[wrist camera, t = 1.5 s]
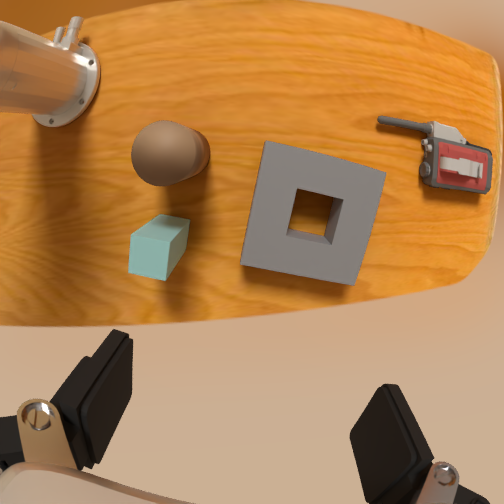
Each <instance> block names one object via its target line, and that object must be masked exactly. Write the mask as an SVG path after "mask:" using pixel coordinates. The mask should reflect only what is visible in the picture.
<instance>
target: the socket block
mask: <svg viewBox="0 0 504 504" xmlns="http://www.w3.org/2000/svg"><path fill="white" fill-rule="evenodd" d="M385 177H386V172H383V171H380V170H376V169H373V168H370V167H367V166H364V165H360V164H357V163H353V162H350V161H347V160H343V159H339V158H336V157H332V156H329V155H325V154H321V153H317V152H313V151H309V150H305V149H301V148H297V147H293V146H288V145H284V144H280V143H275V142H270V141H265V143H264V147H263V152H262V157H261V162H260V166H259V171H258V176H257V180H256V185H255V190H254V195H253V199H252V204H251V209H250V214H249V219H248V223H247V228H246V233H245V238H244V243H243V248H242V253H241V261H240V264H241V265H246V266H251V267H256V268H262V269H267V270H272V271H277V272H283V273H288V274H293V275H298V276H304V277H309V278H315V279H320V280H325V281H331V282H336V283H342V284H347V285H353V286H354V285H355V282H356V279H357V276H358V273H359V270H360V266H361V263H362V260H363V257H364V254H365V251H366V247H367V244H368V241H369V237H370V234H371V230H372V227H373V223H374V220H375V216H376V212H377V209H378V205H379V201H380V197H381V193H382V189H383V185H384V181H385ZM297 188H298V189H302V190H307V191H311V192H315V193H319V194H323V195H328V196H332V197H334V199H333V203H332V207H331V211H330V215H329V219H328V223H327V227H326V231H325V234H324V236H321V235H316V234H311V233H307V232H302V231H297V230H293V229H288V225H289V221H290V217H291V212H292V208H293V204H294V199H295V195H296V191H297Z"/></svg>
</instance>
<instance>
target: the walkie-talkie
mask: <svg viewBox="0 0 504 504" xmlns="http://www.w3.org/2000/svg"><path fill="white" fill-rule="evenodd" d="M377 120H378V122H379V123H380V124H386V125H392V126H398V127H403V128H408V129H414V130H419V131H422V132H424V133H427V138H426V139H422V141H421V143H422V145H424V162H422V163H421V165H420V168H419V171H420V175H421V176H422V177H423V183H424V184H427V185H429V186H430V187H435V188H439V187H441V188H444V189H449V190H450V189H458V190H464V191H469V192H475V193H481V194H486V193H487V192H488V191H489V190H490V188H491V178H492V163H493V158H492V153H491V151H490V150H489V149H487V148H483V147H480V146H476V145H473V144H470V143H469V142H468V141H466V139H465V138H463V136H462V135H461V134H460V132H459V131H458V130H457V129H456V128H454V127H451V126H447V125H443V124H439V123H438V122H435V121H430V122H427V123H417V122H413V121H408V120H402V119H397V118H391V117H386V116H379V117H378V119H377Z"/></svg>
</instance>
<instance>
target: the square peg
mask: <svg viewBox="0 0 504 504" xmlns="http://www.w3.org/2000/svg"><path fill="white" fill-rule="evenodd" d="M189 226H190V219H184V218H179V217H174V216H168V215H163V214H159V215H158V216H156V217H155V218H154V219H152V220H151V221H149V222H148V223H146V224H145V225H144V226H142V227H141V228H139V229H138V230H137V231H135V232H134V233H132V234H131V241H130V254H129V270H128V273H132V274H136V275H141V276H145V277H150V278H154V279H159V280H163V281H166V280H167V278H168V277H169V275H170V274H171V272H172V270H173V269H174V267H175V266H176V264H177V263H178V261H179V260H180V258H181V257H182V255H183V254H184V252H185V251H186V246H187V239H188V233H189Z"/></svg>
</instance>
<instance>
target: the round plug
mask: <svg viewBox="0 0 504 504" xmlns="http://www.w3.org/2000/svg"><path fill="white" fill-rule="evenodd" d="M131 158H132V163H133V167H134V169H135V171H136V173H137V174H138V175H139V177H140V178H141V179H143V180H144V181H145V182H147V183H149V184H151V185H155V186H169V185H172V184H175V183H177V182H180V181H182V180H185V179H187V178H190V177H192V176H195V175H197V174H199V173H200V172H201V171H202V170H203V169H204V168H205V167H206V165H207V164H208V161H209V158H210V146H209V143H208V141H207V139H206V138H205V137H204V136H203V135H202V134H201V133H200V132H198V131H196V130H193V129H191V128H188V127H186V126H183V125H180V124H178V123H175V122H172V121H157V122H154V123H151V124H149V125H148V126H146V127H145V128H144V129H142V130H141V131H140V133H139V134H138V135H137V137H136V139H135V141H134V143H133V146H132V152H131Z"/></svg>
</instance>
